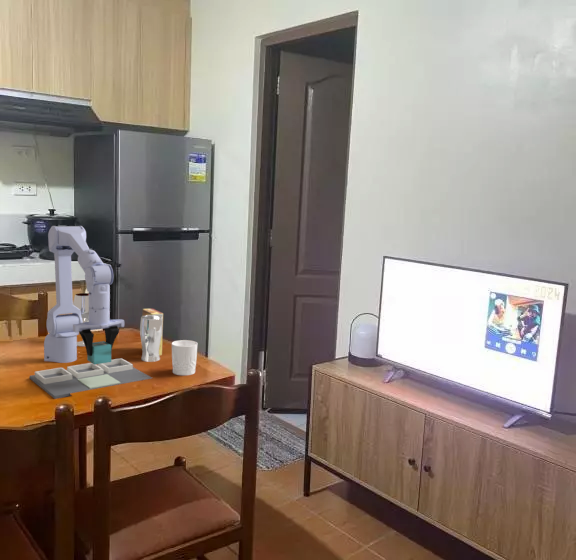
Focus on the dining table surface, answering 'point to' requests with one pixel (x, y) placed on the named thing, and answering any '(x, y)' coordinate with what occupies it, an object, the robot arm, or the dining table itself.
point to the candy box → (155, 312)
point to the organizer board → (86, 377)
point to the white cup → (184, 357)
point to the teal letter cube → (100, 353)
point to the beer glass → (150, 337)
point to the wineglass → (82, 308)
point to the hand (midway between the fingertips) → (99, 353)
